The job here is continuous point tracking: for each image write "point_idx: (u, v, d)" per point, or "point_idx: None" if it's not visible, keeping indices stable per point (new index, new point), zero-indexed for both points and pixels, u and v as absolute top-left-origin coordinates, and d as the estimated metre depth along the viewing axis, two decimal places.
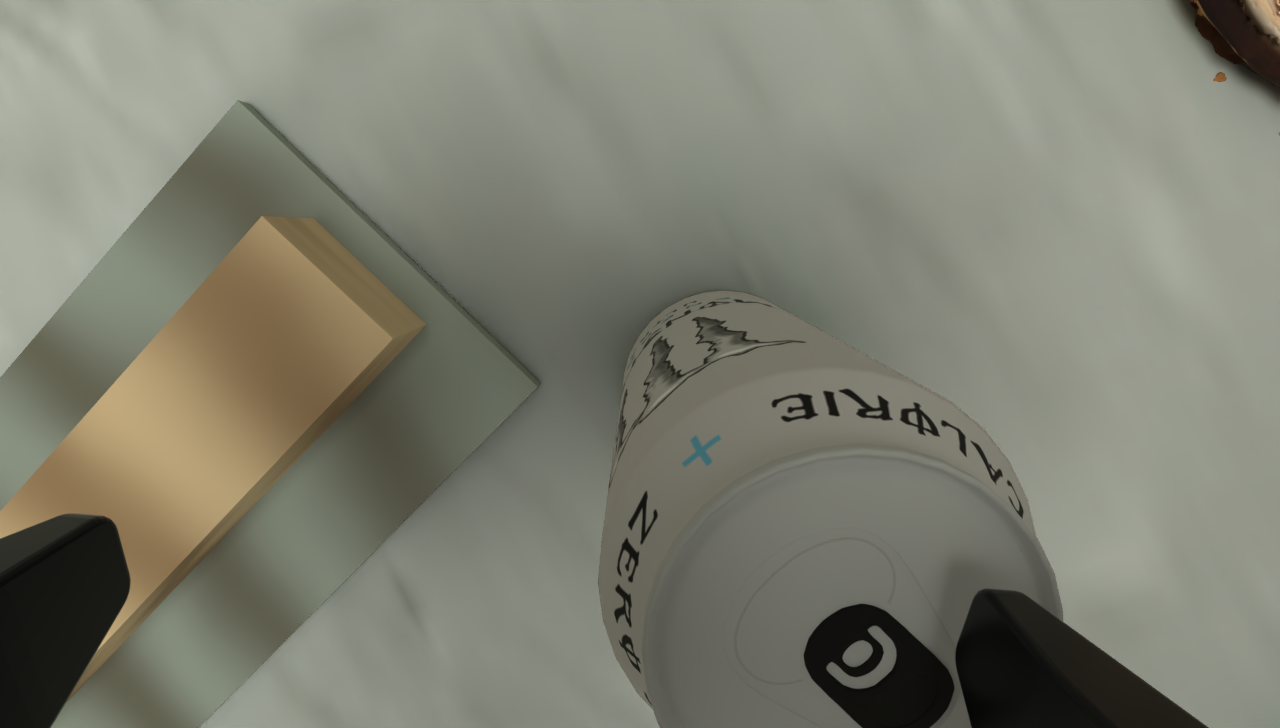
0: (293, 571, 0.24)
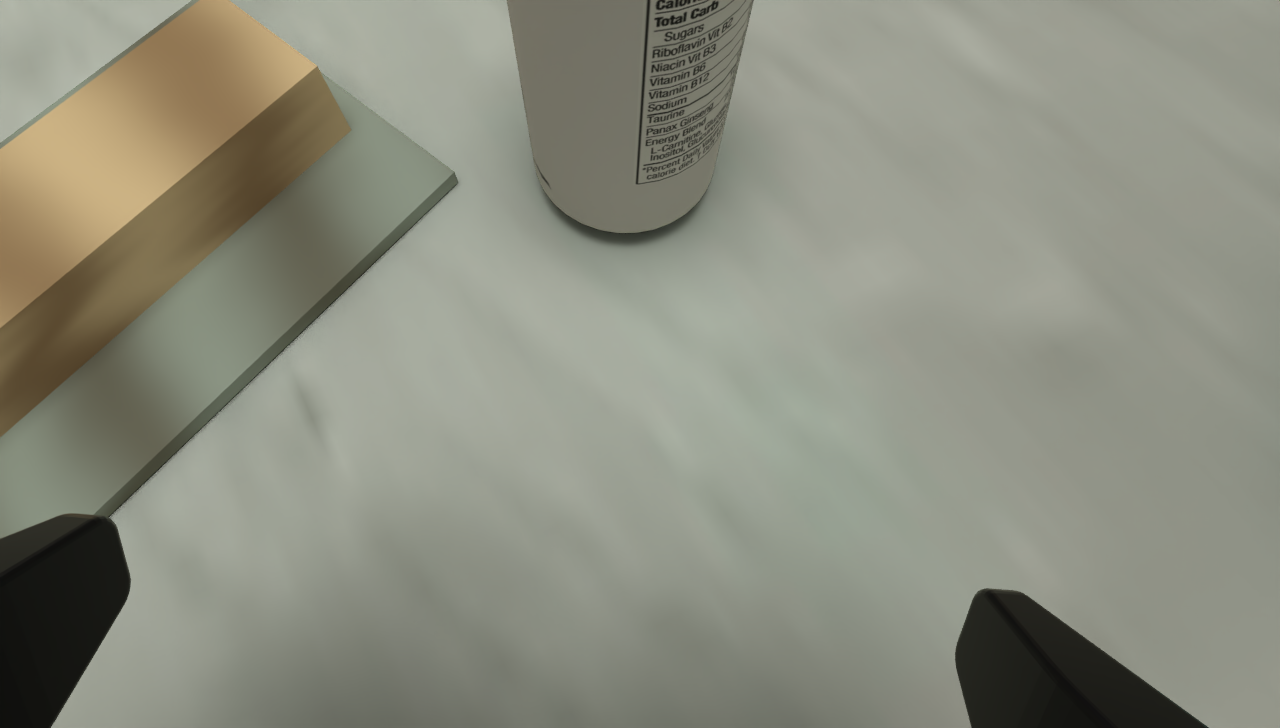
0: (181, 371, 0.21)
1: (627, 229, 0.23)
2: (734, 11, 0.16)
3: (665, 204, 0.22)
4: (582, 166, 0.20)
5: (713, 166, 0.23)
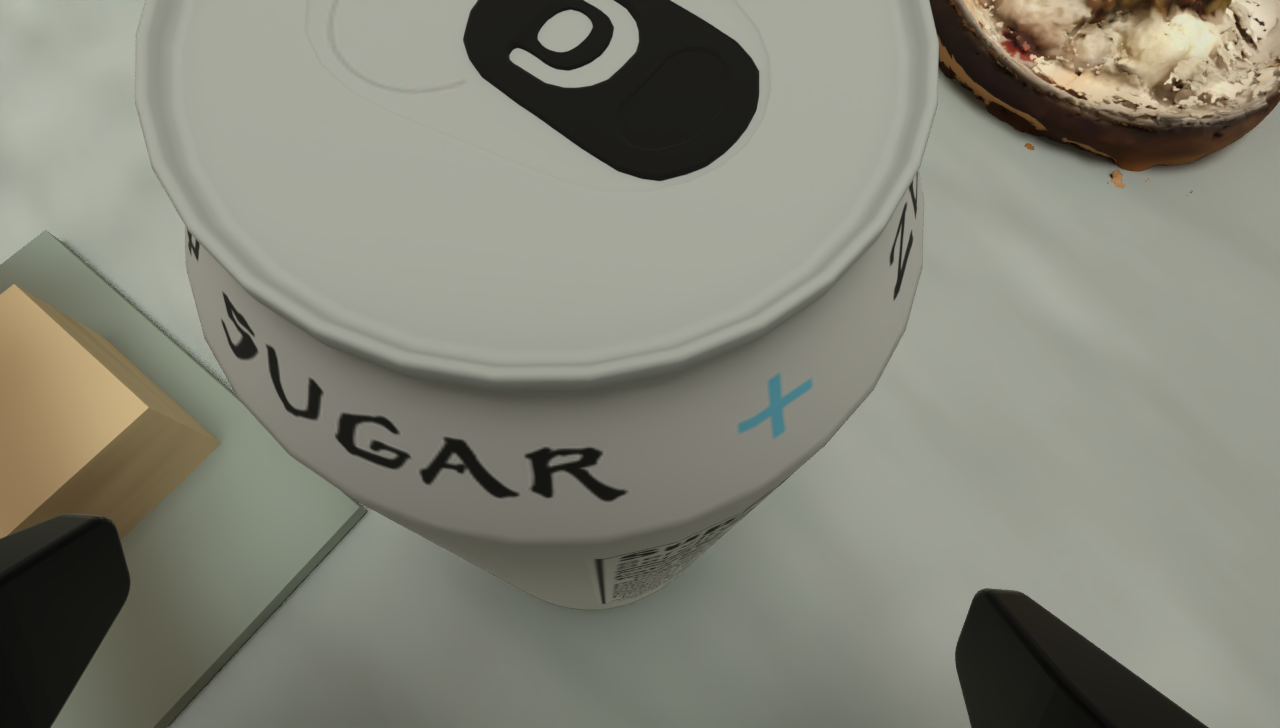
0: None
1: None
2: None
3: (647, 594, 0.15)
4: (522, 589, 0.14)
5: None
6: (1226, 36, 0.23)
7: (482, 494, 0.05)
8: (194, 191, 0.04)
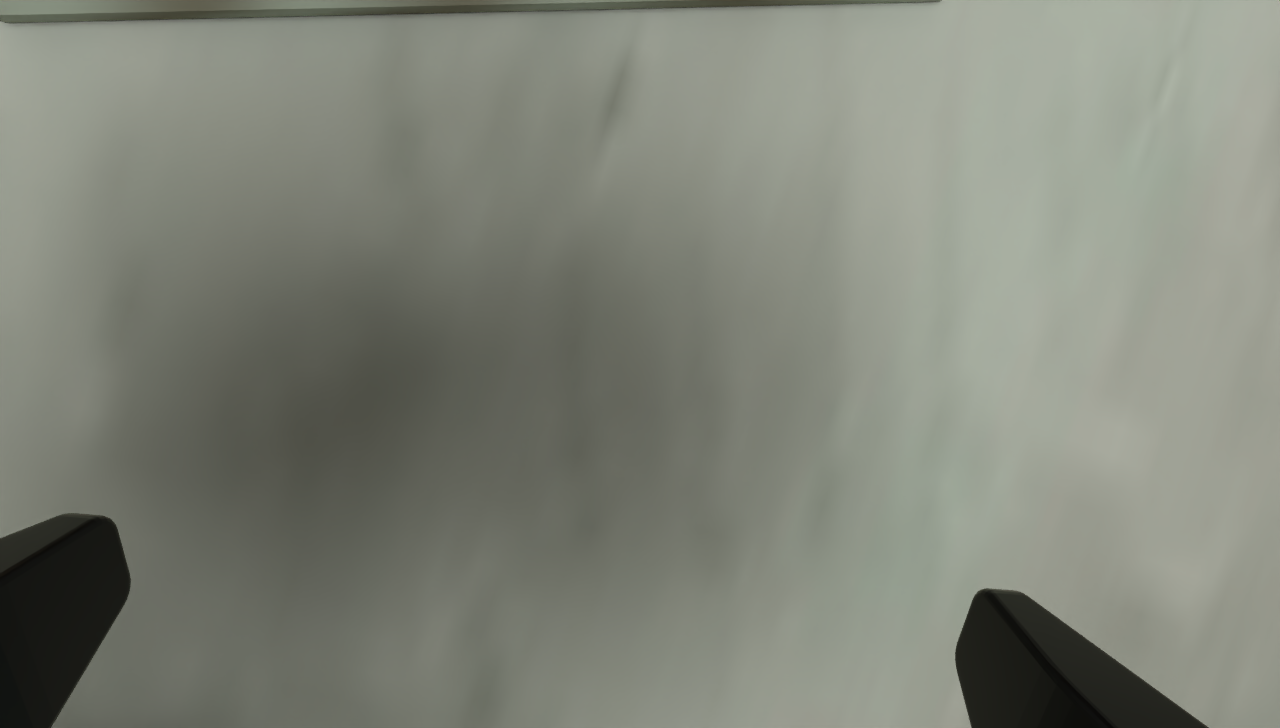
0: None
1: None
2: None
3: None
4: None
5: None
6: None
7: None
8: None
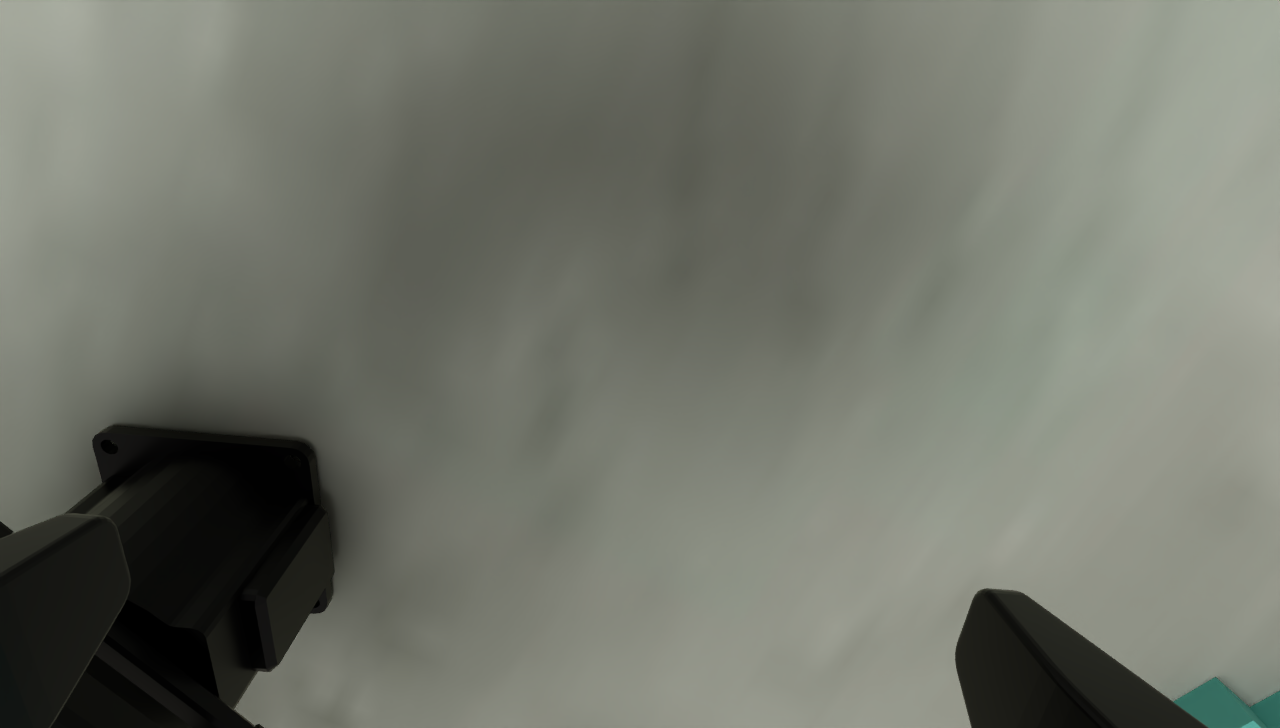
0: None
1: None
2: None
3: None
4: None
5: None
6: None
7: None
8: None
